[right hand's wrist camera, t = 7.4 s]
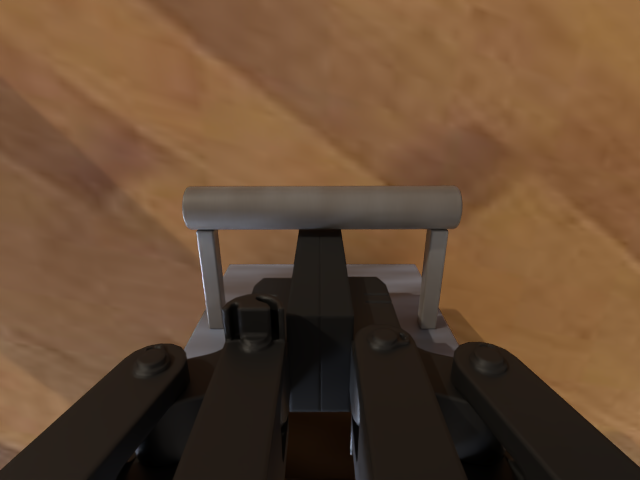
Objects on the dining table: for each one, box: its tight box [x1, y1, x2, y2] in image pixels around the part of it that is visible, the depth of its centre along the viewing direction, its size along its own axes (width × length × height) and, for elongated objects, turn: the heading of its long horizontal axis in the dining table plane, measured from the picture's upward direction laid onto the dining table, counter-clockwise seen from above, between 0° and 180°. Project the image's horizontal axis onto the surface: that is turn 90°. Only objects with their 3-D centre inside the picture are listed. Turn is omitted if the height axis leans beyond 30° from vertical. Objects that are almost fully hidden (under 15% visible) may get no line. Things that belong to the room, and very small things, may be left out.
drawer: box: [182, 186, 462, 480], centre depth 18 cm, size 21×10×8 cm, turn 0°
